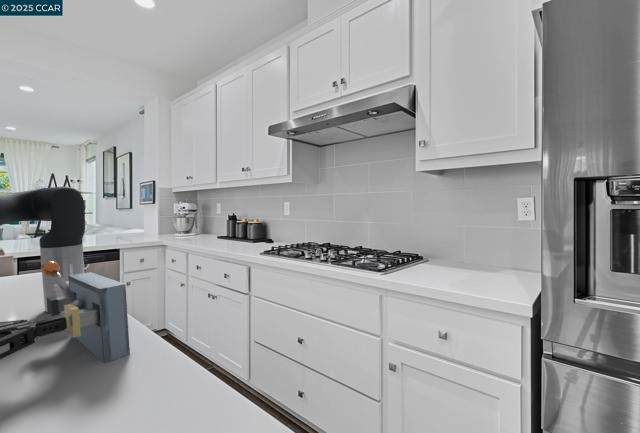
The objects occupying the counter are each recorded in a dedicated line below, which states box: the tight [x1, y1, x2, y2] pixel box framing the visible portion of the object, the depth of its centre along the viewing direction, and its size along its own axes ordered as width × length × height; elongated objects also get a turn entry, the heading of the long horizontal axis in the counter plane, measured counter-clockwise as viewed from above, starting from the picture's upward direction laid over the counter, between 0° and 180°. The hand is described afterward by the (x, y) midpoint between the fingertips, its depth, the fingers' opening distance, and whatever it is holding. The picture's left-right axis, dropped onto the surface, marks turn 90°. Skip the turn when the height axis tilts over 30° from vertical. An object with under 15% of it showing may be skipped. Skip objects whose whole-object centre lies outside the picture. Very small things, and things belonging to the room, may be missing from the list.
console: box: [68, 271, 131, 364], centre depth 65 cm, size 20×5×13 cm, turn 50°
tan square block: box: [64, 304, 99, 339], centre depth 57 cm, size 5×4×5 cm
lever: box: [40, 261, 84, 310], centre depth 61 cm, size 3×3×10 cm
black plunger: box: [47, 296, 70, 317], centre depth 66 cm, size 4×4×3 cm
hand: (65, 322), depth 55 cm, fingers closed
